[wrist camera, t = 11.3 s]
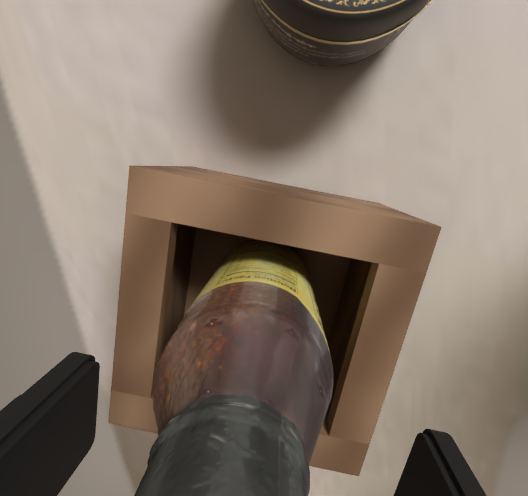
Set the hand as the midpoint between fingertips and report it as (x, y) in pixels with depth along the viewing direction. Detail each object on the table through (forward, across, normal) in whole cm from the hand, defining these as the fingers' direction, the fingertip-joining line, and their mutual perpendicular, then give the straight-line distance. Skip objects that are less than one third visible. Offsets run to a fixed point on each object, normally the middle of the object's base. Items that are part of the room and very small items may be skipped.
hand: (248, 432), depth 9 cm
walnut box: (+15, 0, 0) cm, 15 cm away
